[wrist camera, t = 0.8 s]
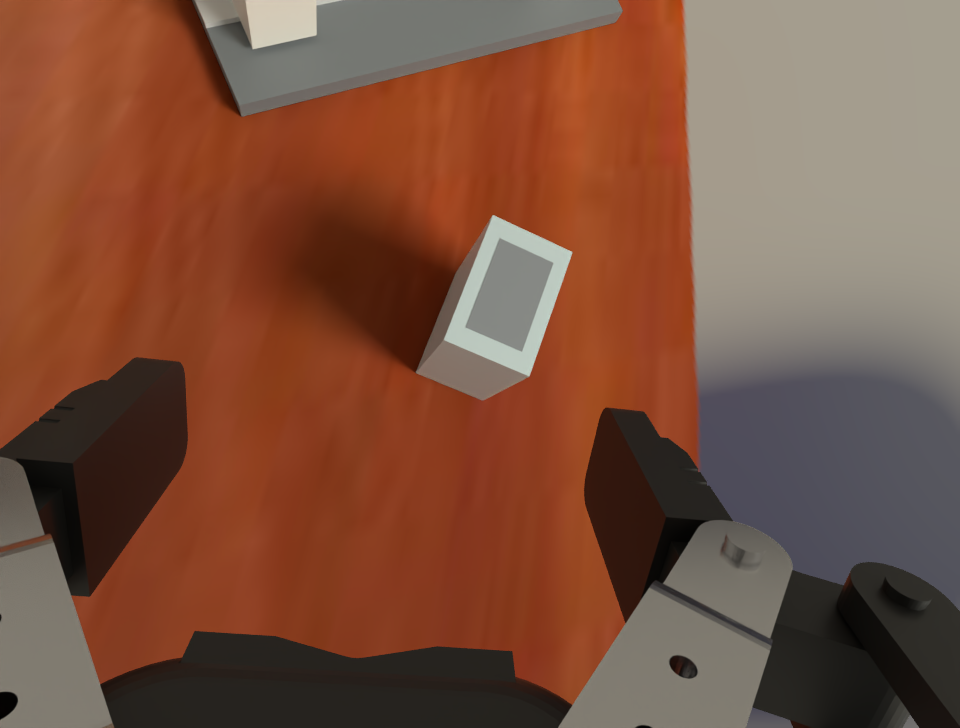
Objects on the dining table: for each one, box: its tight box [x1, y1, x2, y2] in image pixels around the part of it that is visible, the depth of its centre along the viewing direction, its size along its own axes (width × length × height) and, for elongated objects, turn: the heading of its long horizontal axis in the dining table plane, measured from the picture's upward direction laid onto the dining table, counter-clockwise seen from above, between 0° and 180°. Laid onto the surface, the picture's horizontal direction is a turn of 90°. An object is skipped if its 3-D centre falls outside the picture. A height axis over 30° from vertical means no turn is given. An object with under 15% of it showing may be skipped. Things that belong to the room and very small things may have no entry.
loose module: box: [416, 215, 572, 401], centre depth 35 cm, size 4×7×9 cm, turn 158°
